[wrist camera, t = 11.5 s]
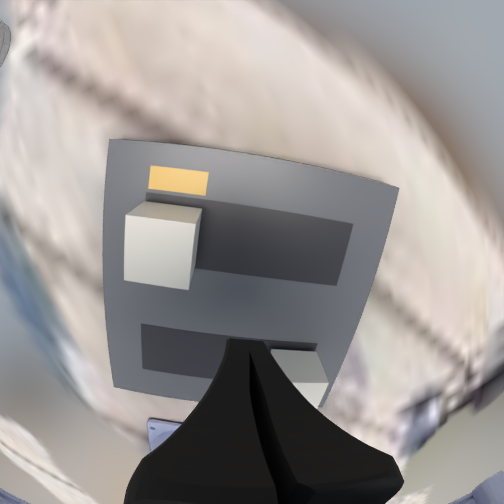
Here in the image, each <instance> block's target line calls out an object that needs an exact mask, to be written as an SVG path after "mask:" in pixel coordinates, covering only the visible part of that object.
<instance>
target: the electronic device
mask: <svg viewBox="0 0 504 504" xmlns="http://www.w3.org/2000/svg"><path fill="white" fill-rule="evenodd" d="M10 42H11V34H10V30H9V27H8V26H7V25H6V24H5V23H4V22H3V21H1V20H0V67H1V66H2V64H3V62H4V60H5V58H6V56H7V54H8V51H9V48H10Z"/></svg>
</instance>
